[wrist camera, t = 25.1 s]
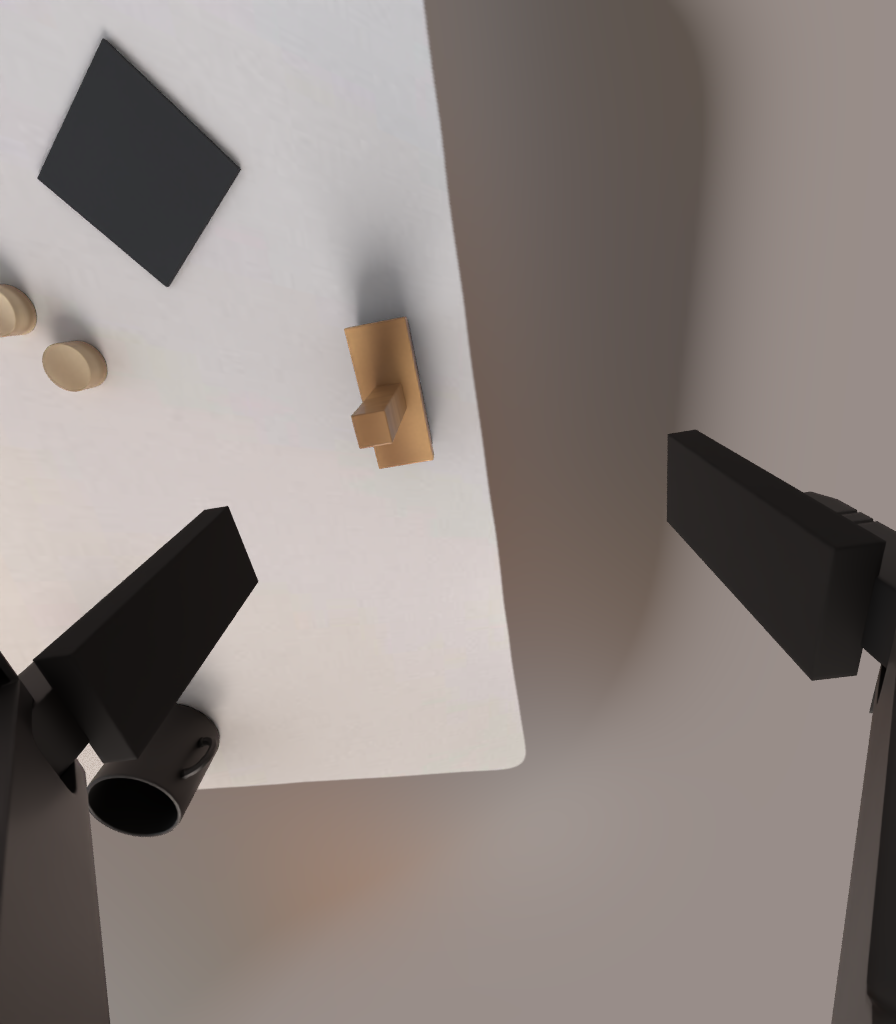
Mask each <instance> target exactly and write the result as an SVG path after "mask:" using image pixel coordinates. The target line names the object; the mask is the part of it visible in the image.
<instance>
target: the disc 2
mask: <svg viewBox="0 0 896 1024" xmlns="http://www.w3.org/2000/svg"><path fill="white" fill-rule="evenodd" d="M42 363H43V367H44V370H45V372H46V374H47V376H48V377H49V378H50V379H51V381H52V382H53V383H55V384H56V385H57V386H59V387H60V388H62V389H65V390H68V391H73V392H76V391H81V390H85V389H89V388H93V387H96V386H99V385H100V384H102V383H103V382H104V380H105V379H106V376H107V366H106V362H105V360H104V358H103V356H102V355H101V354H100V352H99V351H98V350H97V349H96V348H94V347H93V346H91V345H90V344H88V343H85V342H82V341H70V342H63V343H56V344H52V345H50V346H49V347H48V348H46V350H45V351H44V353H43V358H42Z"/></svg>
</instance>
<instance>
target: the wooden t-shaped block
mask: <svg viewBox="0 0 896 1024" xmlns="http://www.w3.org/2000/svg"><path fill="white" fill-rule="evenodd" d="M344 331H345V335H346V339H347V343H348V347H349V350H350V354H351V358H352V362H353V366H354V370H355V374H356V378H357V382H358V386H359V390H360V394H361V398H362V402H363V403H362V404H361V405H360V406H359V408H358V409H357V410H356V411H355V412H354V414H353V415H352V416H351V418H352V422H353V426H354V429H355V433H356V437H357V441H358V445H359V448H360V449H362V448H368V447H374V450H375V454H376V458H377V462H378V466H379V469H382V468H388V467H394V466H400V465H406V464H412V463H418V462H424V461H430V460H433V459H434V452H433V447H432V438H431V433H430V428H429V423H428V418H427V413H426V408H425V403H424V398H423V393H422V388H421V383H420V378H419V373H418V368H417V363H416V358H415V353H414V348H413V343H412V338H411V333H410V328H409V323H408V319H407V317H406V316H405V317H399V318H394V319H389V320H384V321H379V322H374V323H368V324H363V325H358V326H353V327H348V328H345V329H344Z"/></svg>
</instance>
